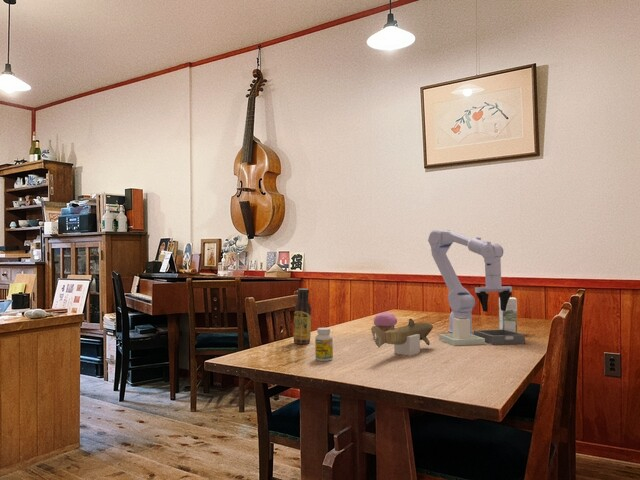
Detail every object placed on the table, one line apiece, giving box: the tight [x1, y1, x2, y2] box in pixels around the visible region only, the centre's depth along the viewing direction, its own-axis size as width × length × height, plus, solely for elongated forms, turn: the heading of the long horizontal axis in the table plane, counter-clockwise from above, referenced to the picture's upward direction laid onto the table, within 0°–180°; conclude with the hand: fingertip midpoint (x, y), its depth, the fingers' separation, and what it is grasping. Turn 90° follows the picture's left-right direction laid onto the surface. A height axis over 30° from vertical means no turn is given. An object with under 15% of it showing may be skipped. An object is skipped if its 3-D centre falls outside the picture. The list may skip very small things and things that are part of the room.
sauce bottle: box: [292, 288, 312, 345], centre depth 179 cm, size 7×6×20 cm
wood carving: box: [370, 318, 434, 357], centre depth 160 cm, size 9×35×11 cm, turn 138°
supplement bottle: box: [314, 327, 334, 362], centre depth 152 cm, size 5×5×10 cm
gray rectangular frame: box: [473, 328, 526, 346], centre depth 182 cm, size 14×13×3 cm
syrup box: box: [498, 296, 518, 333], centre depth 199 cm, size 6×6×14 cm
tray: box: [438, 333, 486, 347], centre depth 180 cm, size 12×12×2 cm
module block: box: [452, 316, 470, 339], centre depth 180 cm, size 4×4×9 cm
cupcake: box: [373, 311, 398, 332], centre depth 189 cm, size 9×9×10 cm
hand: (494, 311), depth 187 cm, fingers open, 7 cm apart
